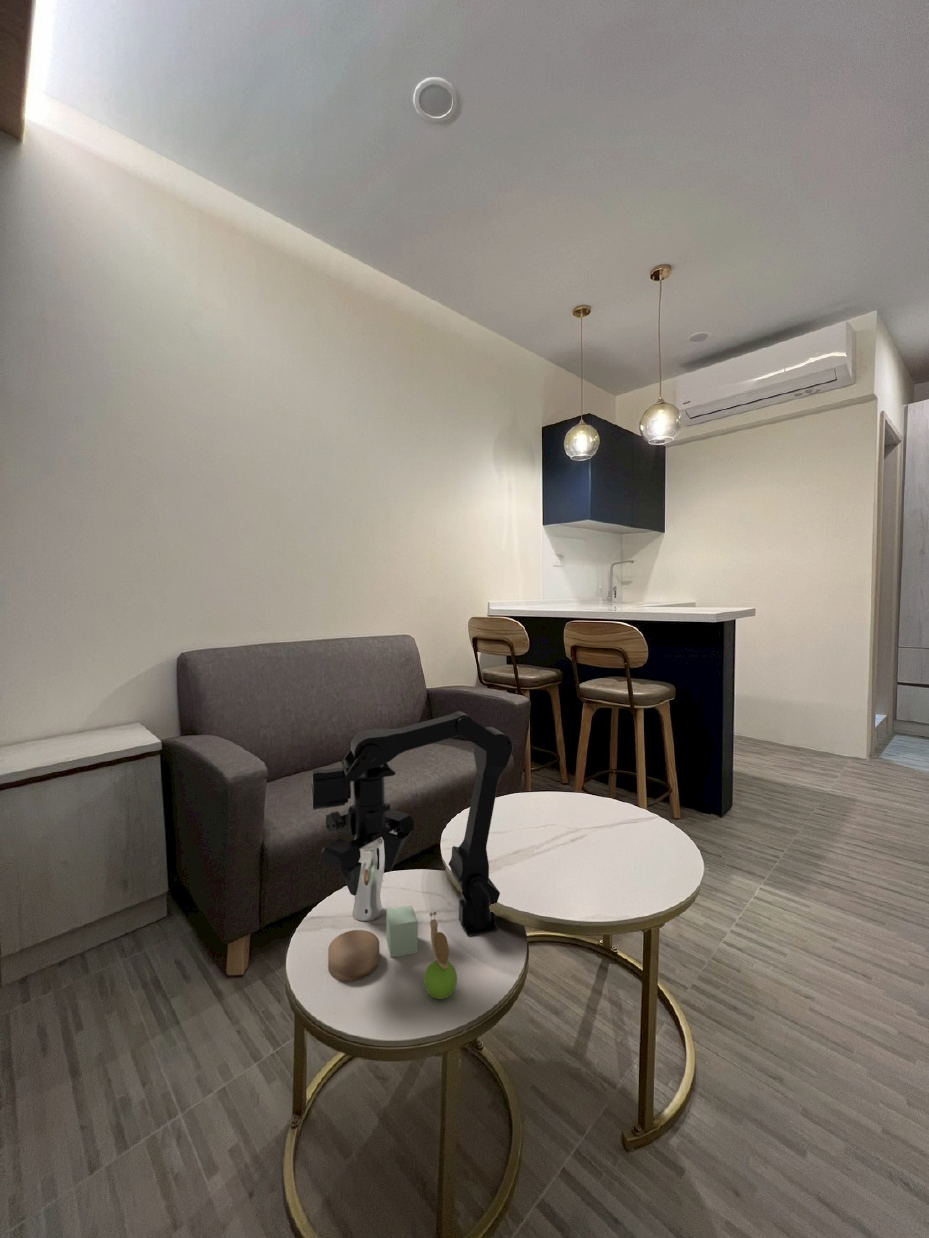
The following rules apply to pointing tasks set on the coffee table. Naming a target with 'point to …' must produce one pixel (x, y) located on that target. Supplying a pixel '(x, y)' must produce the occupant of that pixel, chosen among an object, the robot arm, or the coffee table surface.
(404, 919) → the sage block
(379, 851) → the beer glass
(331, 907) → the coffee table surface
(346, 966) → the walnut base
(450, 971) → the snail figurine
